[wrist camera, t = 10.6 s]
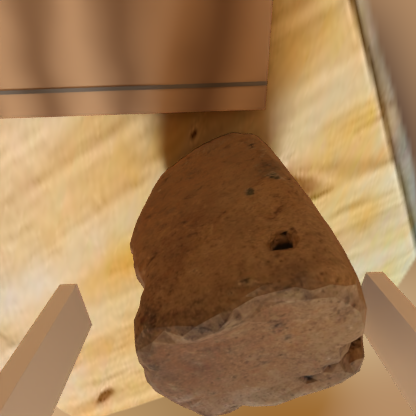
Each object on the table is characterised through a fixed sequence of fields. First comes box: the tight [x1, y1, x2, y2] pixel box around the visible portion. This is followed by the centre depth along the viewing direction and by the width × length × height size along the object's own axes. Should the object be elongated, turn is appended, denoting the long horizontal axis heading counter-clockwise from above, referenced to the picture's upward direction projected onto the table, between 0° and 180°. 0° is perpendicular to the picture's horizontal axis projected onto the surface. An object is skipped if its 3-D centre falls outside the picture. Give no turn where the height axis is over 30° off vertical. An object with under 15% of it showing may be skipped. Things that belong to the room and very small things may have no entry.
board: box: [0, 0, 273, 118], centre depth 20 cm, size 24×10×2 cm, turn 92°
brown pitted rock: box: [130, 133, 367, 416], centre depth 17 cm, size 11×8×20 cm
